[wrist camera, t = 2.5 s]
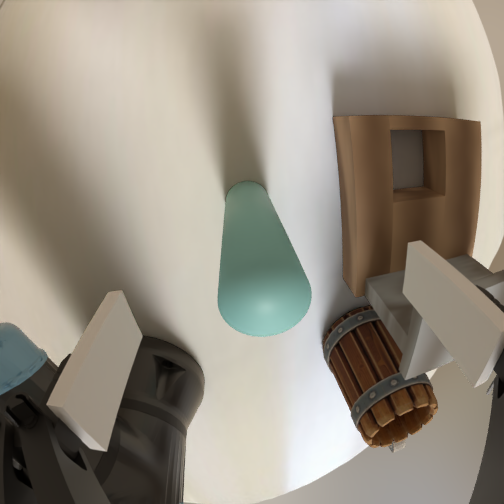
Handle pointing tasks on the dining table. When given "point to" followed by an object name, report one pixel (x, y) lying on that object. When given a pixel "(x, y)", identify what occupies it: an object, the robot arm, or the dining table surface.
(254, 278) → the peg
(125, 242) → the dining table surface
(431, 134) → the socket block
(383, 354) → the mug
